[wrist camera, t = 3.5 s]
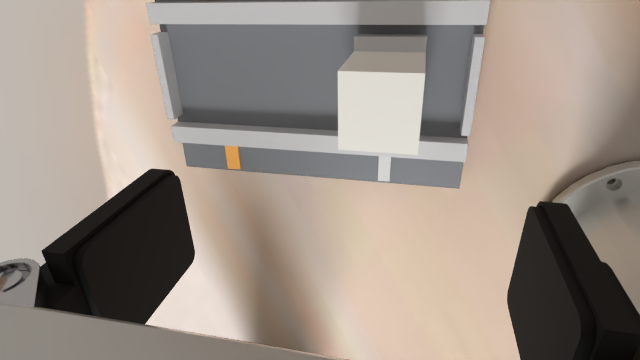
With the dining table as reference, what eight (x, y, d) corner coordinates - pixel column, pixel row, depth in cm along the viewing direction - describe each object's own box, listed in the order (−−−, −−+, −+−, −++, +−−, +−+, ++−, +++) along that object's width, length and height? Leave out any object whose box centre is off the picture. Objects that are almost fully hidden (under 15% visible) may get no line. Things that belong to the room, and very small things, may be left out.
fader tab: (426, 34, 23) (426, 55, 18) (418, 128, 26) (416, 169, 21) (356, 33, 24) (337, 53, 19) (355, 124, 27) (338, 163, 22)
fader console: (490, -52, 23) (499, -54, 20) (457, 175, 29) (460, 197, 26) (164, -41, 27) (134, -41, 24) (199, 155, 33) (178, 173, 31)
